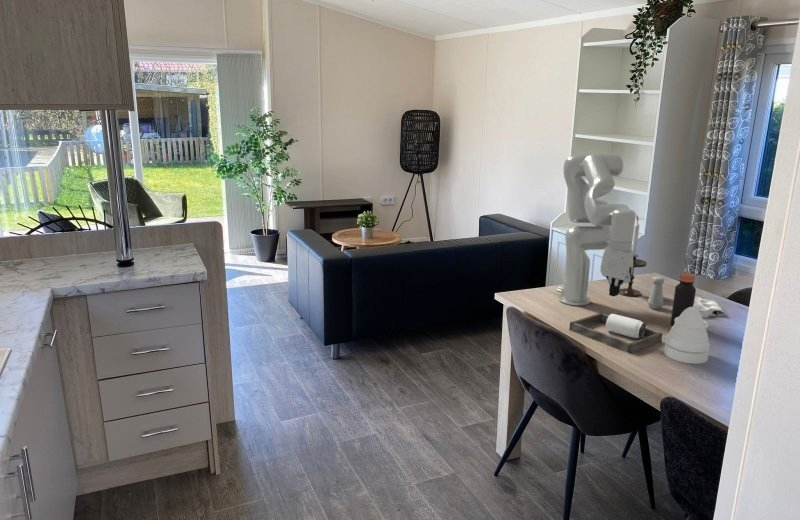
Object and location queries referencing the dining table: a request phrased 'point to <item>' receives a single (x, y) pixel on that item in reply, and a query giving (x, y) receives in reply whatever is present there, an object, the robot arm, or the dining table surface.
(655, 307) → the salt shaker
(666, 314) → the dining table surface
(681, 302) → the bottle
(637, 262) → the candlestick
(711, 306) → the white crumpled cloth
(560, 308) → the dining table surface
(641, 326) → the can
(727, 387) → the dining table surface
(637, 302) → the dining table surface
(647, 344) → the frame
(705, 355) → the honey pot
